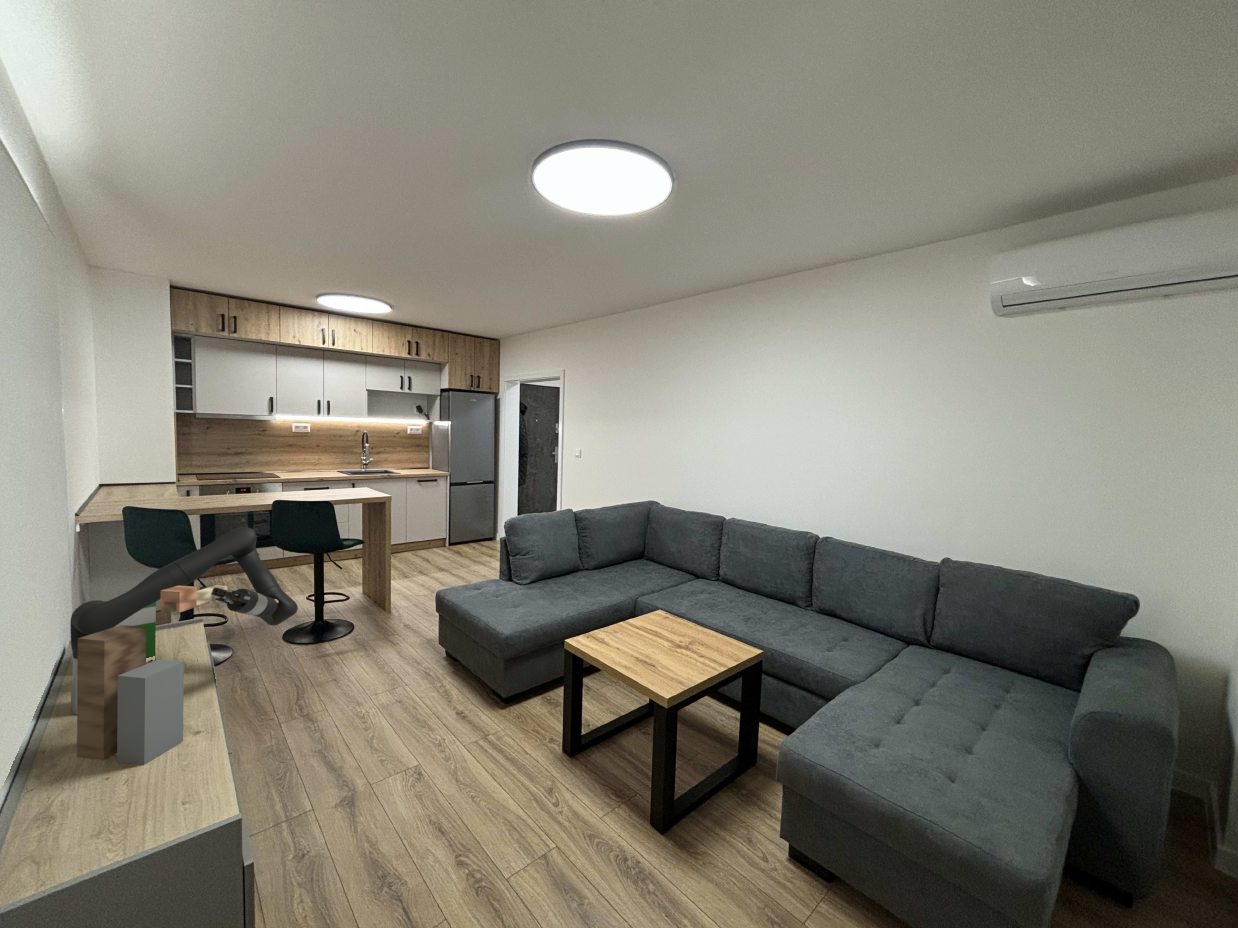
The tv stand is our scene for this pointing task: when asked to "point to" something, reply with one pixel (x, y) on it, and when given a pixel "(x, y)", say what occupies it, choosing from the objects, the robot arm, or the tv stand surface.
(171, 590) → the two-tone block
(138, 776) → the tv stand surface
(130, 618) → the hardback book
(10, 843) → the tv stand surface
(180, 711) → the tall grey block
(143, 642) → the tall stand
